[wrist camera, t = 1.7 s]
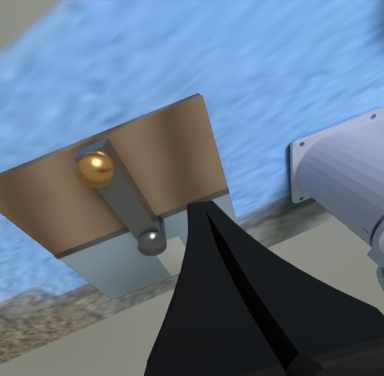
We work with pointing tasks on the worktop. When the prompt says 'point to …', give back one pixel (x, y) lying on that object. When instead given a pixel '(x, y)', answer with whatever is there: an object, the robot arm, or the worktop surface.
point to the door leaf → (136, 257)
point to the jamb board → (138, 168)
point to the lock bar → (121, 194)
